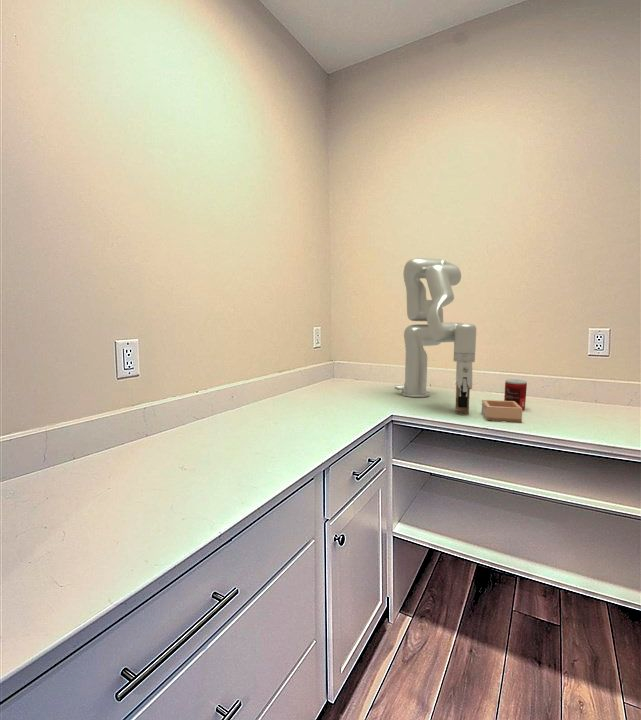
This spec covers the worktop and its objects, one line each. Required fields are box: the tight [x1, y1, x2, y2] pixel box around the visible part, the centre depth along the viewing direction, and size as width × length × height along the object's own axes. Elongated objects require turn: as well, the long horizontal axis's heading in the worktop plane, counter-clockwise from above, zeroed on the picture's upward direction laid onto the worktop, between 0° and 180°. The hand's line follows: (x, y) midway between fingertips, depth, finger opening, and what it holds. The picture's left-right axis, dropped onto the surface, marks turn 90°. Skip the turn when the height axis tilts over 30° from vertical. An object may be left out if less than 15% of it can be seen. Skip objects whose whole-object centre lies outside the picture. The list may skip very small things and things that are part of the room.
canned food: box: [503, 378, 528, 411], centre depth 165 cm, size 8×8×11 cm
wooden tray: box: [481, 399, 523, 424], centre depth 152 cm, size 11×11×5 cm
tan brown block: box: [454, 380, 471, 415], centre depth 158 cm, size 4×3×12 cm, turn 77°
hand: (462, 405), depth 158 cm, fingers closed on tan brown block, 2 cm apart
